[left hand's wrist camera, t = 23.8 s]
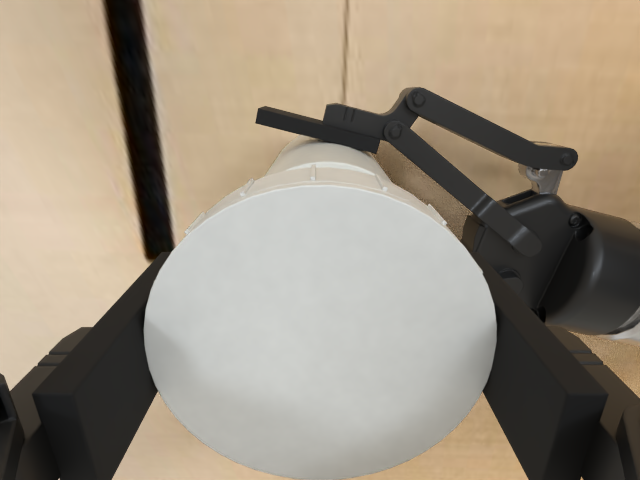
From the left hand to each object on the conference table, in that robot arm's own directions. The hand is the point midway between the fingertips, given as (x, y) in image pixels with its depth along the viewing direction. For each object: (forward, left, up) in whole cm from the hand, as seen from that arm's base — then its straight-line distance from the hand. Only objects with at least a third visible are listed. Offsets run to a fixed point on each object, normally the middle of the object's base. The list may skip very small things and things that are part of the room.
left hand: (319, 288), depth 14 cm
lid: (0, 0, +3) cm, 3 cm away
